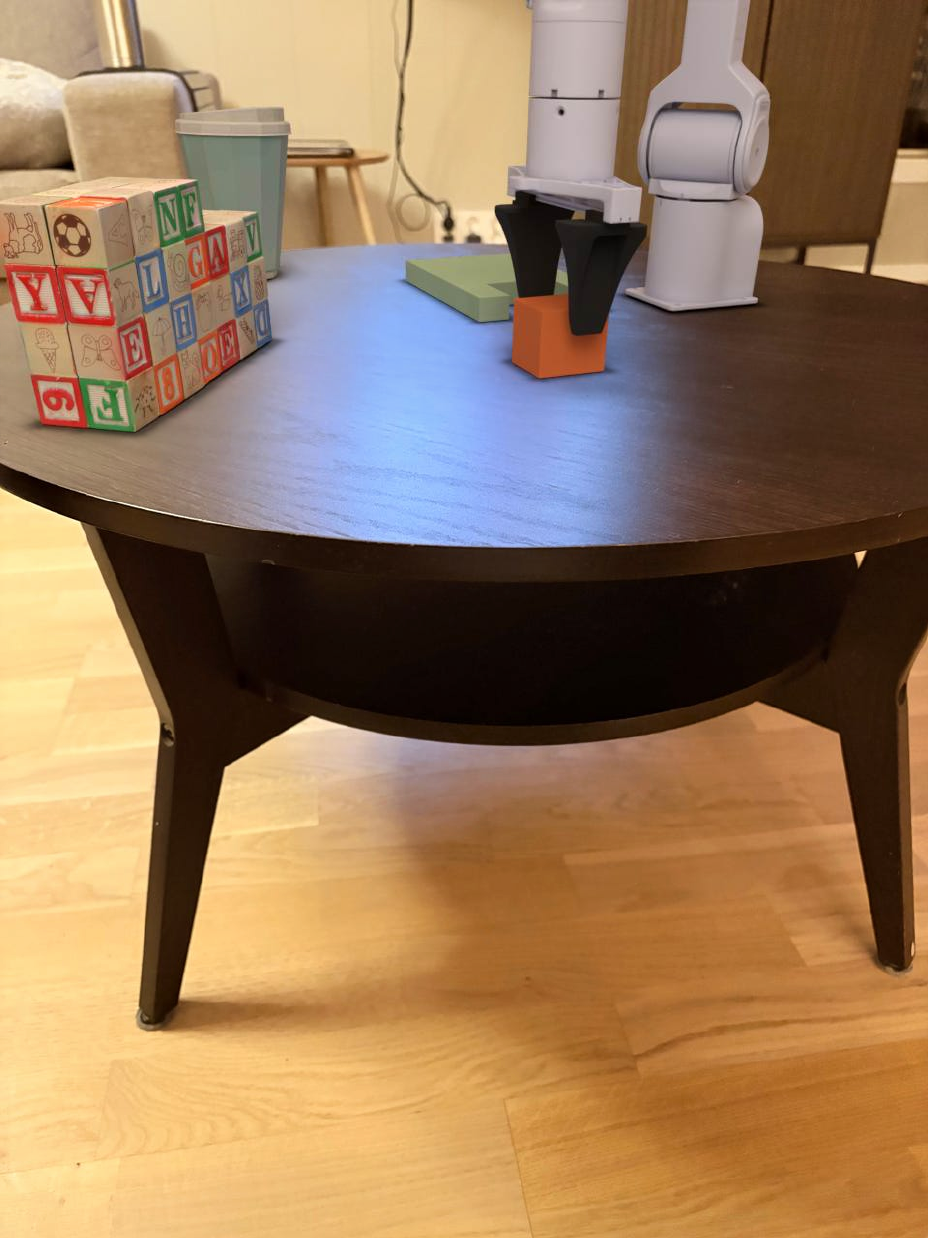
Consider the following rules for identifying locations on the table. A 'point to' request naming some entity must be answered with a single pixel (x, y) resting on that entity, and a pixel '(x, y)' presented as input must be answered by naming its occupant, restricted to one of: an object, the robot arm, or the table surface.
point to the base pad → (473, 283)
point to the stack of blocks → (130, 296)
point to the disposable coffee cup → (240, 166)
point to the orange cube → (553, 339)
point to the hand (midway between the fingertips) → (559, 320)
